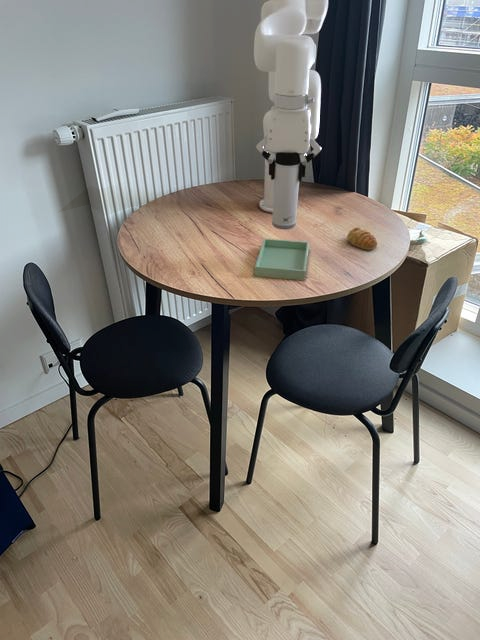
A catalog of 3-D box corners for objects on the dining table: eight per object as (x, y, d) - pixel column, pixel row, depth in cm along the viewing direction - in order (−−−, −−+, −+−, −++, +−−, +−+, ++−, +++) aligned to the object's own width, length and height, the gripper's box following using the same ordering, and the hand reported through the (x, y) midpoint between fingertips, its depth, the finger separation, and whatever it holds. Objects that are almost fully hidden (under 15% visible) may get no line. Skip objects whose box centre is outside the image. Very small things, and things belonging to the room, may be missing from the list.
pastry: (382, 247, 142) (384, 235, 140) (365, 253, 140) (367, 241, 137) (360, 235, 149) (362, 224, 147) (343, 241, 146) (345, 229, 144)
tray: (263, 247, 143) (263, 238, 141) (308, 250, 141) (309, 241, 140) (254, 276, 129) (254, 266, 128) (304, 280, 127) (305, 271, 126)
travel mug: (290, 232, 125) (295, 153, 114) (267, 226, 128) (270, 149, 116) (300, 223, 129) (307, 147, 118) (279, 218, 132) (283, 143, 121)
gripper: (329, 99, 113) (322, 175, 123) (255, 97, 115) (254, 172, 126) (328, 106, 107) (320, 186, 117) (250, 103, 109) (250, 182, 120)
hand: (286, 178), depth 121 cm, fingers closed on travel mug, 6 cm apart
